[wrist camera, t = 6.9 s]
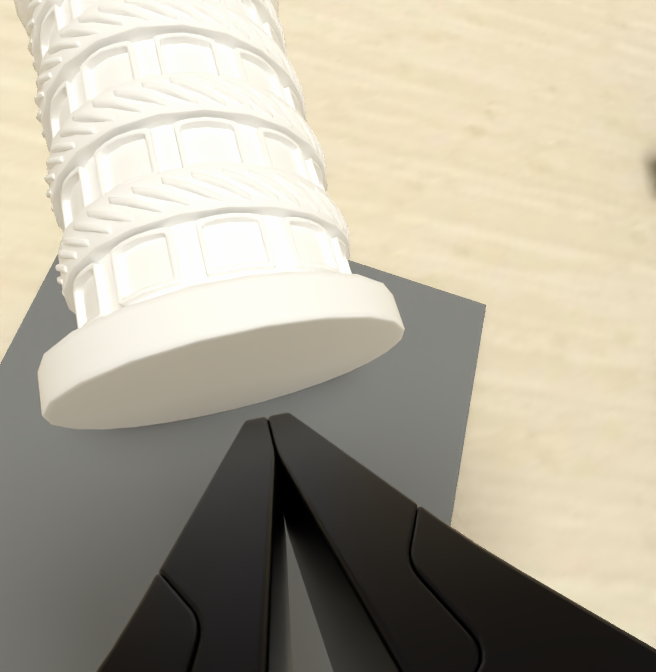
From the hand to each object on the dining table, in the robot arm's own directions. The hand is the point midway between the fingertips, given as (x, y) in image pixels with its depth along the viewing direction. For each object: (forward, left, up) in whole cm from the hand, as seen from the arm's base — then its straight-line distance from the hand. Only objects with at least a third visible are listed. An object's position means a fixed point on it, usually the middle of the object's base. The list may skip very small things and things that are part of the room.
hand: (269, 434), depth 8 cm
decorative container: (+1, +1, -7) cm, 7 cm away
